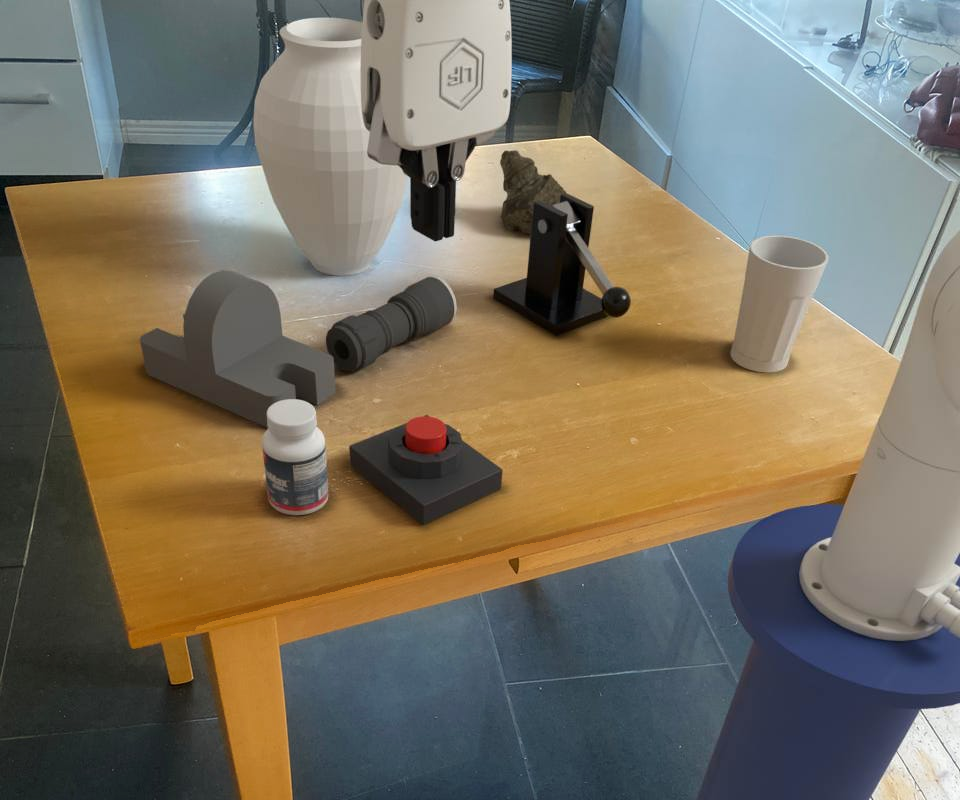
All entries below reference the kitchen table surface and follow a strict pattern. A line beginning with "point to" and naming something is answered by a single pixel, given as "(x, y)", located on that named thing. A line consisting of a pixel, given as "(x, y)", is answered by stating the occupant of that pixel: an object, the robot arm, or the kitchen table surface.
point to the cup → (775, 300)
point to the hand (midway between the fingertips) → (432, 232)
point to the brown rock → (525, 190)
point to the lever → (594, 267)
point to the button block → (425, 473)
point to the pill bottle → (294, 458)
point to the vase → (324, 148)
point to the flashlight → (391, 323)
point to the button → (425, 435)
